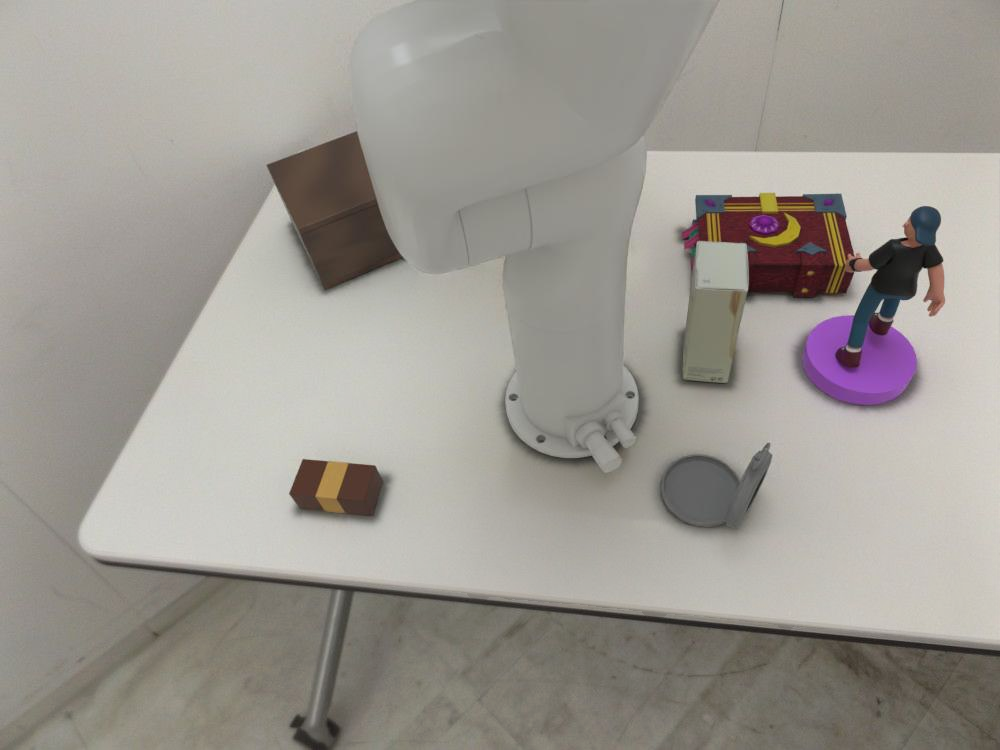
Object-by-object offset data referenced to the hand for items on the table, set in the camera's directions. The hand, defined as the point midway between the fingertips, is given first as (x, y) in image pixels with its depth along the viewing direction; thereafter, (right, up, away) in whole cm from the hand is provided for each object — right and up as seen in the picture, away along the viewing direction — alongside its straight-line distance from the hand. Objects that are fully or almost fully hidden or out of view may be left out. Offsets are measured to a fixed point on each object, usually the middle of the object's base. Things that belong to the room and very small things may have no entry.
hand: (469, 118), depth 73 cm
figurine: (+37, -26, -8) cm, 46 cm away
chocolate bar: (-11, -38, -10) cm, 41 cm away
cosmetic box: (+24, -26, -5) cm, 35 cm away
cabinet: (-14, -10, +13) cm, 21 cm away
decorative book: (+32, -15, +2) cm, 35 cm away
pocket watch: (+21, -38, -15) cm, 46 cm away
